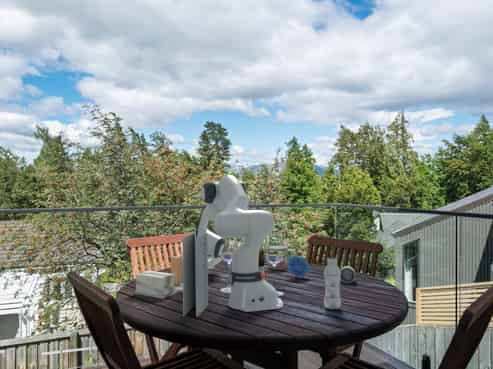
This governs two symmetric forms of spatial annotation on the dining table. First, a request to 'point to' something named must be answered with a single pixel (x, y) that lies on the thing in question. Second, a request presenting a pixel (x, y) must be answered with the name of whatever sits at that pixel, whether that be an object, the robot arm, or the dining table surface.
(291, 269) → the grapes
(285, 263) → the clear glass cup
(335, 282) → the plastic bottle
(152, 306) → the dining table surface
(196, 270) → the brochure
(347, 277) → the ceramic mug
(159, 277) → the block
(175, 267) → the tan rectangular block
